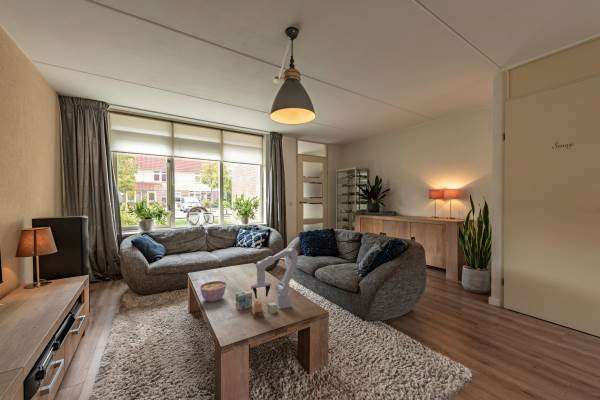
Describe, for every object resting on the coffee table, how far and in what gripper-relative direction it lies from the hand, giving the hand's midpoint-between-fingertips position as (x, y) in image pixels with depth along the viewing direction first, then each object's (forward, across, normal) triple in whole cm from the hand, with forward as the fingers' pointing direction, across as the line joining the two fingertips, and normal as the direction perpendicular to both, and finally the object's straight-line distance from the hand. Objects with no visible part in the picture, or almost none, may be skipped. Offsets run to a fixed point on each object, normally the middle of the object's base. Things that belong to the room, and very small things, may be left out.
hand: (261, 297), depth 172 cm
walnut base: (+11, +4, +4) cm, 12 cm away
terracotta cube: (+7, +4, +4) cm, 9 cm away
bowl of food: (+10, +31, -34) cm, 47 cm away
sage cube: (+10, -7, +3) cm, 13 cm away
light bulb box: (+10, +11, -12) cm, 19 cm away
